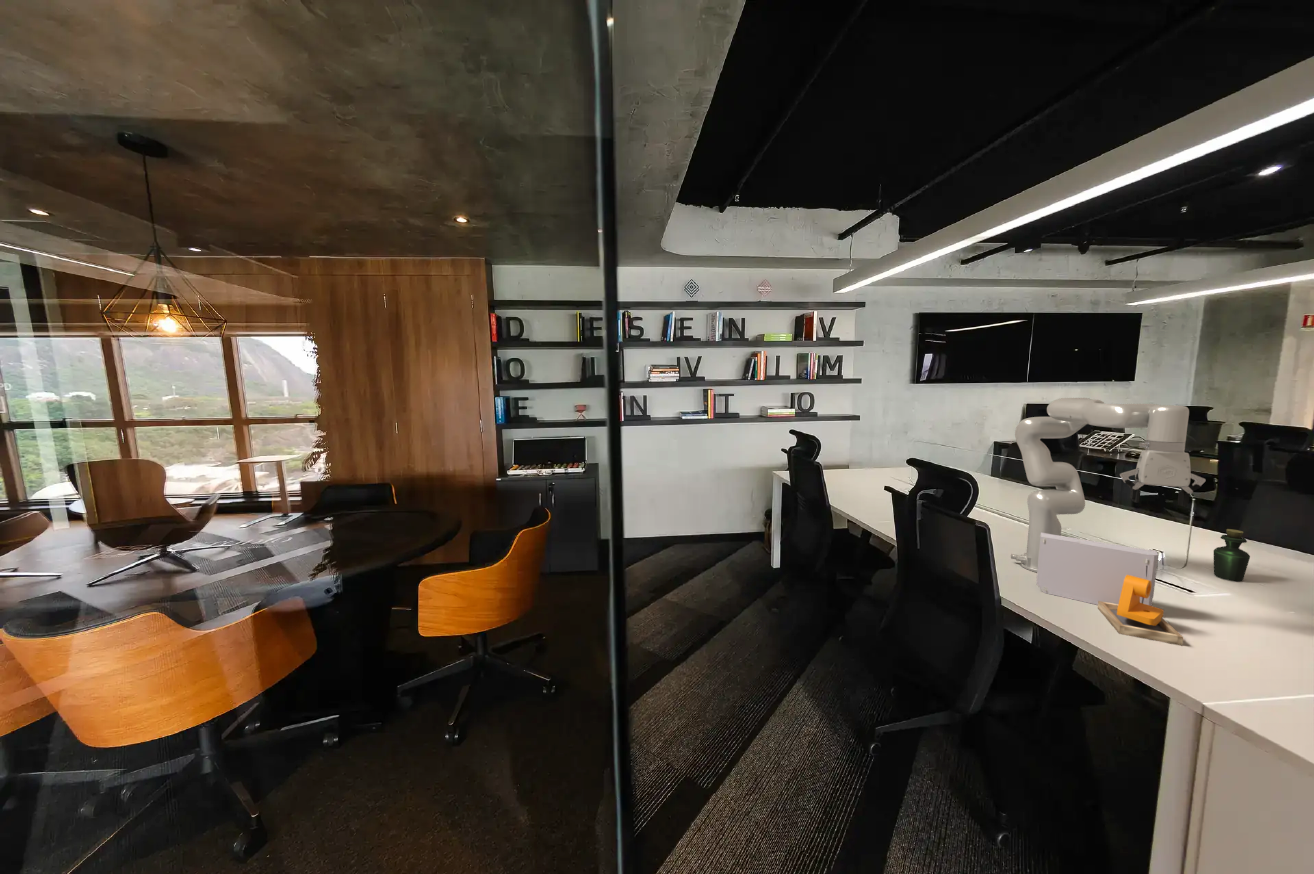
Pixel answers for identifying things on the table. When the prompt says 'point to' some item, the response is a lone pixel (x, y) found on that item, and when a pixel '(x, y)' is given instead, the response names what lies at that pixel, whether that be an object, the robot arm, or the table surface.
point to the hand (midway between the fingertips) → (1158, 503)
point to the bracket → (1138, 601)
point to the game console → (1091, 568)
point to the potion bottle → (1231, 557)
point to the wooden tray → (1139, 626)
